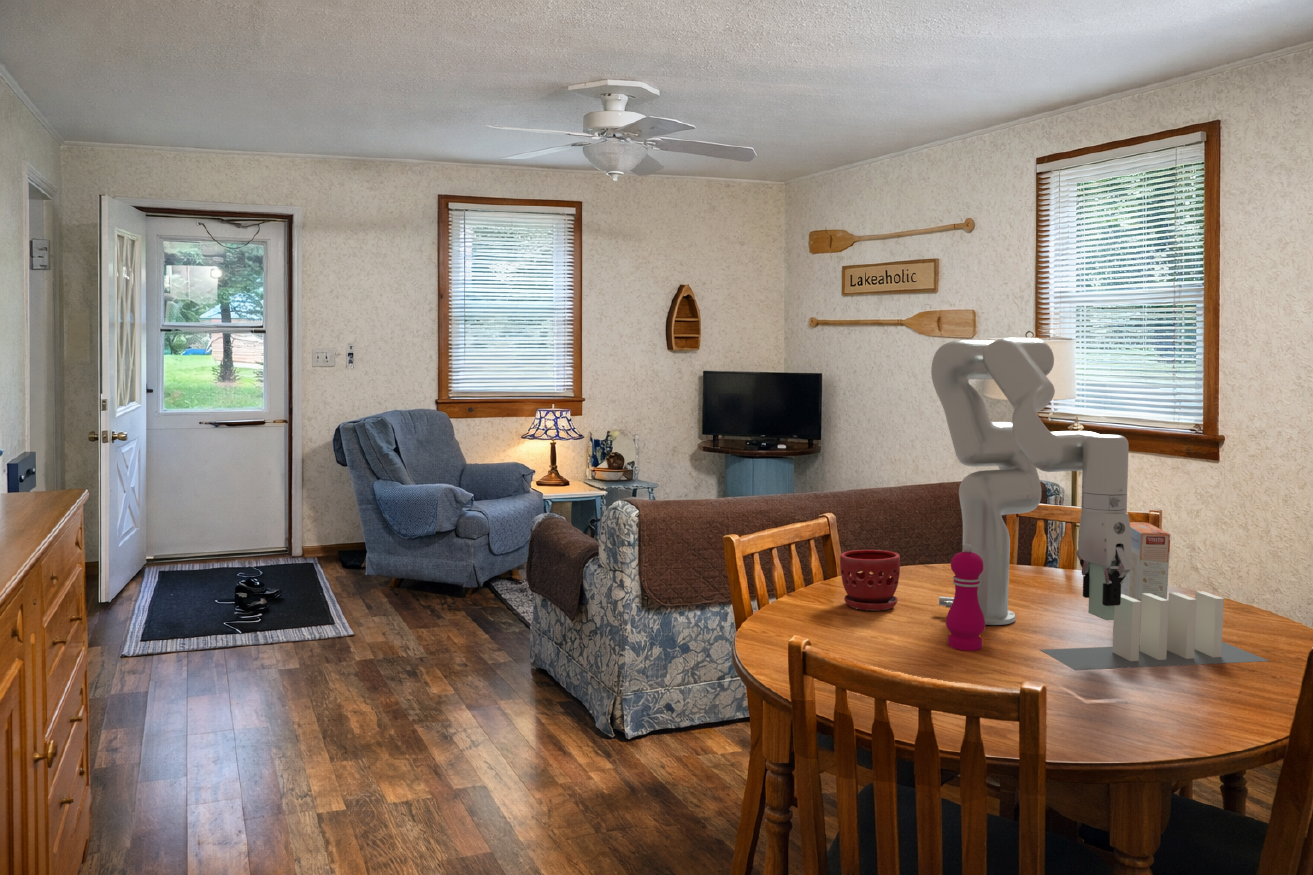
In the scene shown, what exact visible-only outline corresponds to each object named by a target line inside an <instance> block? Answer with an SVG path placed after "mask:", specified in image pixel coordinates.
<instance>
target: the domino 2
mask: <svg viewBox="0 0 1313 875" xmlns="http://www.w3.org/2000/svg"><path fill="white" fill-rule="evenodd" d="M1168 612H1169V599H1167V600H1166V599H1164V598H1161V597H1159V596H1156V595H1153V594H1151V593H1142V603H1141V626H1140V639H1139V645H1140V649H1139V651H1141V652H1143V653H1145V654H1147V655H1149V656H1151V657H1153V658H1155V659H1157V660H1166V655H1167V633H1168Z"/></svg>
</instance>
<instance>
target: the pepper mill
mask: <svg viewBox="0 0 1313 875" xmlns="http://www.w3.org/2000/svg"><path fill="white" fill-rule="evenodd" d="M963 551H964V552H963ZM971 551H972V546H971V545H970V544H965V545H964V546H963V545H962V551H960V552H957V553H956V554H954V555H953V556H952V558H951V562H950V569H951V571H952V573H953V574H954V576H952V578H953V581H952V583H953V584H954V588H955V590H954V596H955V597H954V596H953V598H954V601H953V603H952V606H951V608H950V607H949V610H948V611H947V616H946V618H945V619H946V620H945V627H946V629H947V630H948V631H949V632H950V634H949V635H948V636H947V645H948V646H949V647H950V648H951V649H954V648H955V650H958V649H959V650H958V651H964V650H965V651H967V652H971V651H972V652H973V651H975V652H976V651H980V650H981V649H982V647H983V638H982V637H981V634H982V633H983V632H984V631H985V629H986V625H985V619H984V615H983V613H982V610H981V608H980V605H979V601H978V593H977V591H978V586H980V580H981V579H980V578H979V575H980V574H981V573H982V572H983V568H984V565H983V561H982V559H981V557H980V556H979V555H978V554H976V553H973V552H971Z"/></svg>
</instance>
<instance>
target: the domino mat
mask: <svg viewBox="0 0 1313 875" xmlns="http://www.w3.org/2000/svg"><path fill="white" fill-rule="evenodd" d="M1112 648H1113V646H1100V647H1099V646H1097V647H1095V646H1094V647H1093V646H1092V647H1075V648H1074V647H1072V648H1071V647H1070V648H1049V649H1048V648H1047V649H1040V652H1042V653H1044V654H1046V655H1048V656H1050V657H1051V658H1052V659H1055V660H1057V661H1058V662H1061V663H1062V664H1064V665H1066V666H1067V667H1069V668H1071V669H1072V670H1074V671H1084V670H1085V671H1086V670H1087V671H1088V670H1106V669H1109V670H1110V669H1129V668H1130V669H1131V668H1150V667H1151V668H1153V667H1171V666H1172V667H1175V666H1177V667H1178V666H1194V665H1214V664H1216V665H1218V664H1239V663H1257V662H1258V663H1259V662H1270V660H1269V659H1266V658H1264V657H1261V656H1258V655H1256V654H1254V653H1252V652H1249V651H1247V650H1244V649H1241V648H1239V647H1237V646H1235V645H1232V644H1229V643H1227V642H1224V641H1222V649H1221V657H1211V656H1209V655H1206V654H1204V653H1202V652H1200V651H1197V650H1195V649H1194V658H1190V659H1185V658H1183V657H1181V656H1179V655H1177V654H1174V653H1172V652H1170V651H1168V650H1167V655H1166V660H1157V659H1155V658H1153V657H1151V656H1149V655H1147V654H1145V653H1143V652H1141V651H1139V661H1129V660H1127V659H1125V658H1123V657H1121V656H1119V655H1117V654H1115V653H1113V652H1112ZM1139 649H1140V644H1139Z"/></svg>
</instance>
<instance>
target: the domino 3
mask: <svg viewBox="0 0 1313 875" xmlns="http://www.w3.org/2000/svg"><path fill="white" fill-rule="evenodd" d="M1168 600H1169V612H1168V633H1167V650H1168V651H1170V652H1172V653H1174V654H1177V655H1179V656H1181V657H1183V658H1185V659H1190V658H1194V645H1195V624H1196V603H1197V599H1195V597H1194V598H1193V597H1191V596H1189V595H1185V594H1183V593H1181V592H1176V591H1174V592H1168Z"/></svg>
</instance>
